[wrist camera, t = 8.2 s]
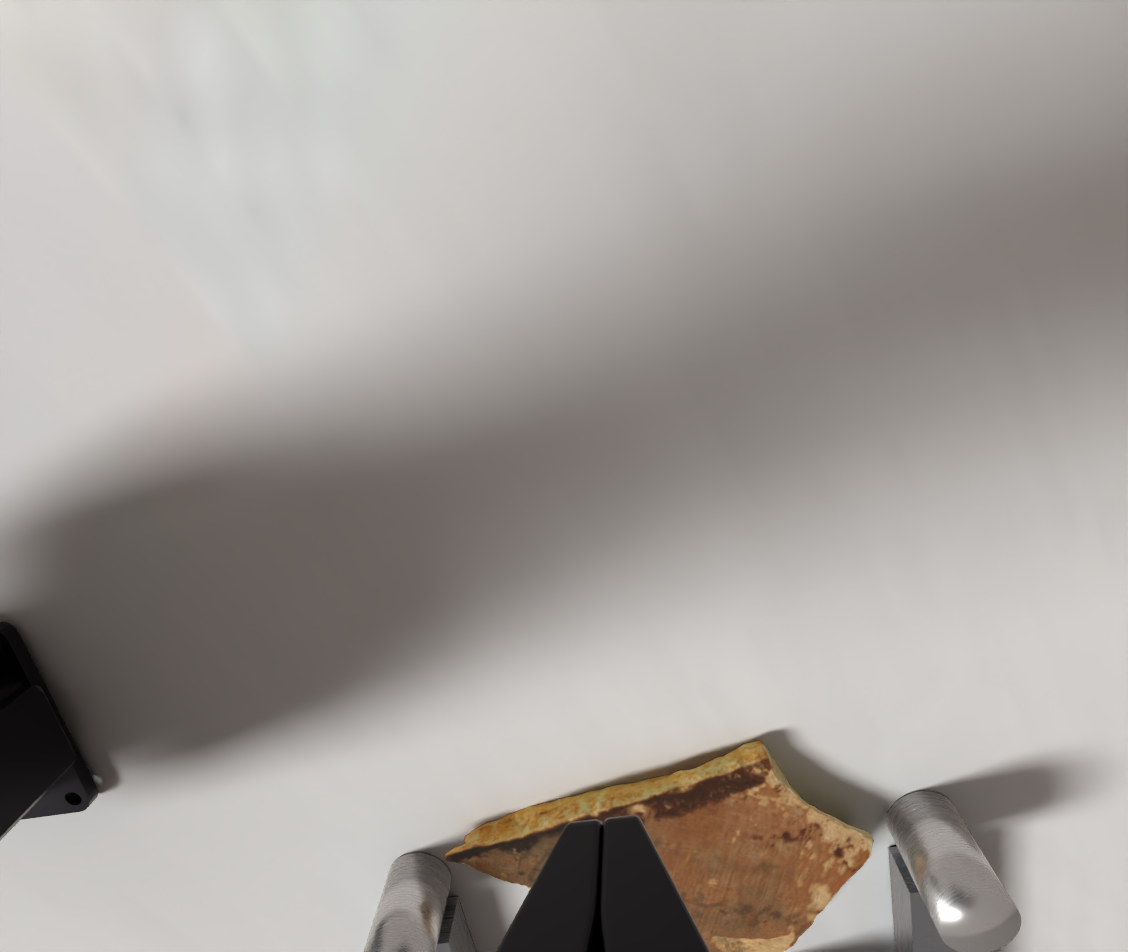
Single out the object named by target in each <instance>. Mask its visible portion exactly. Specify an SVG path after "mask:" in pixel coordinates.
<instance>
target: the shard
mask: <svg viewBox="0 0 1128 952" xmlns="http://www.w3.org/2000/svg"><path fill="white" fill-rule="evenodd" d="M628 815H636V816H638V817H639V818H640V819H641V821H642V822H643V824H644V826H645V828H646V830H647V832H648V834H649V836H650V838H651V840H652V842H653V843H654V845H655V847H656V849H657V851H658V853H659V855H660V857H661V859H662V861H663V863H664V864H665V866H666V868H667V870H668V872H669V874H670V876H671V878H672V880H673V882H674V884H675V885H676V887H677V889H678V891H679V893H680V895H681V897H682V899H683V901H684V903H685V905H686V906H687V908H688V910H689V912H690V914H691V916H692V918H693V920H694V922H695V924H696V926H697V927H698V929H699V931H700V933H701V935H702V937H703V939H704V941H705V943H706V945H707V947H708V948H709V950H710V952H784V951H786V950H787V949H788V948H790V947H792V946H793V945H794V944H795V943H796V941H797V939H798V937H799V936H801V935H802V934H803V933H804V932H805V931H806V930H807V929H808V928H809V927H810V926H811V925H812V924H813V922H814V919H815V917H816V915H817V914H819V913H820V912H821V911H822V910H823V909H824V908H825V906H826V905H827V904H828V903H829V902H830V901H831V900H832V898H833V897H834V896H835V895H836V893H837V892H838V891H839V889H840V888H841V887H842V885H843V884H844V883H845V882H846V881H847V880H848V879H849V878H850V877H852V876H853V875H854V874H855V873H856V872H857V871H858V870H859V869H860V868H861V867H862V866H863V865H864V863H865V862H866V861H867V859H868V858H869V857H870V856H871V848H872V844H873V842H874V840H873V838H872V835H871V834H870V833H869V832H867V831H865V830H863V829H858V828H856V827H853V826H851V825H848V824H845V823H844V822H842V821H840V820H839V819H837V818H835V817H833V816H831V815H829V814H826V813H824V812H822V811H820V810H818V809H817V808H815V807H814V806H812V805H809V804H807V803H806V802H805V801H804V800H803V799H802V798H801V797H800V796H799V795H798V793H797V792H796V791H795V790H794V789H793V788H792V787H791V786H790V785H789V783H788V781H787V779H786V778H785V777H784V775H783V774H782V772H781V770H780V769H779V767H778V765H777V763H776V762H775V760H774V759H773V758H772V757H771V755H770V753H769V751H768V749H767V748H766V747H765V745H764V744H763V743H762V742H761V741H754V742H750V743H745V744H743V745H741V746H740V747H738V748H737V749H735V750H733V751H732V752H730V753H728V754H726V755H725V756H722V757H716V758H715V759H713V760H710V761H708V762H706V763H705V764H703V765H701V766H699V767H697V768H694V769H691V770H680V771H677V772H674V773H673V774H671V775H665V776H661V777H655V778H650V779H647V780H643V781H640V782H634V783H629V784H621V785H614V786H610V787H606V788H604V789H601V790H595V791H590V792H586V793H583V794H581V795H577V796H569V797H566V798H561V799H558V800H555V801H553V802H549V803H542V804H539V805H534V806H529V807H527V808H525V809H522V810H519V811H517V812H514V813H510V814H508V815H506V816H505V817H503V818H501V819H499V820H496V821H493V822H488V823H485V824H484V825H482V826H480V827H478V828H476V829H475V830H473V831H471V833H470V834H468V835H466V836H465V839H464V844H463V845H461V846H458V847H455V848H452V849H451V850H450V851H448V852H447V853H446V854H445V855H444V856H445V859H446V860H448V861H451V862H457V863H461V864H465V865H469V866H471V867H473V868H475V869H477V870H479V871H481V872H484V873H487V874H490V875H492V876H494V877H496V878H498V879H502V880H504V881H508V882H511V883H517V884H520V885H526V886H527V887H529V888H531V887H532V885H533V884H534V882H535V880H536V878H537V876H538V875H539V873H540V871H541V869H542V867H543V865H544V864H545V862H546V860H547V858H548V856H549V855H550V853H551V851H552V849H553V847H554V845H555V844H556V842H557V840H558V838H559V836H560V834H561V833H562V831H563V829H564V827H565V826H566V825H567V824H568V823H570V822H575V821H583V820H592V819H598V820H600V821H602V823H603V824H604V821H605V820H606V819H607V818H610V817H619V816H628Z"/></svg>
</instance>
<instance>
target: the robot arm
mask: <svg viewBox="0 0 1128 952" xmlns="http://www.w3.org/2000/svg"><path fill="white" fill-rule="evenodd" d="M0 642H1V643H0V840H1V839H2V838H3V837H4V836H5V835H6V834H7V833H8V832H9V831H10V830H11V829H12V828H13V827H14V826H15V825H16V824H17V823H18V822H19V820H21V819H29V818H36V817H43V816H51V815H58V814H66V813H73V812H80V811H83V810H85V809H86V808H87V807H88V806H89V805H90V804H91V803H92V802H93V801H94V800H95V798H96V797H97V795H98V789H97V786H96V784H95V782H94V780H93V778H92V776H91V774H90V772H89V771H88V769H87V767H86V765H85V763H84V761H83V759H82V757H81V755H80V753H79V751H78V749H77V747H76V745H75V743H74V741H73V739H72V737H71V735H70V733H69V731H68V729H67V727H66V725H65V723H64V721H63V719H62V717H61V715H60V713H59V711H58V709H57V707H56V705H55V703H54V701H53V699H52V697H51V695H50V693H49V691H48V689H47V688H46V686H45V684H44V682H43V680H42V678H41V676H40V674H39V672H38V670H37V668H36V666H35V664H34V662H33V660H32V658H31V656H30V654H29V652H28V650H27V648H26V646H25V644H24V642H23V640H22V638H21V636H20V634H19V633H18V631H17V630H16V629H15V628H14V627H13V626H11V625H10V624H8V623H5V622H0ZM496 952H710V950H709V948H708V947H707V945H706V943H705V941H704V939H703V937H702V935H701V933H700V931H699V929H698V927H697V926H696V924H695V922H694V920H693V918H692V916H691V914H690V912H689V910H688V908H687V906H686V905H685V903H684V901H683V899H682V897H681V895H680V893H679V891H678V889H677V887H676V885H675V884H674V882H673V880H672V878H671V876H670V874H669V872H668V870H667V868H666V866H665V864H664V863H663V861H662V859H661V857H660V855H659V853H658V851H657V849H656V847H655V845H654V843H653V842H652V840H651V838H650V836H649V834H648V832H647V830H646V828H645V826H644V824H643V822H642V821H641V819H640V818H639V817H638V816H636V815H628V816H619V817H610V818H607V819H606V820H605V821H604V824H603V823H602V821H600V820H598V819H592V820H583V821H575V822H570V823H568V824H567V825H566V826H565V827H564V829H563V831H562V833H561V834H560V836H559V838H558V840H557V842H556V844H555V845H554V847H553V849H552V851H551V853H550V855H549V856H548V858H547V860H546V862H545V864H544V865H543V867H542V869H541V871H540V873H539V875H538V876H537V878H536V880H535V882H534V884H533V885H532V887H531V889H530V891H529V893H528V895H527V896H526V898H525V900H524V902H523V904H522V905H521V907H520V909H519V911H518V913H517V915H516V916H515V918H514V920H513V922H512V924H511V925H510V927H509V929H508V931H507V933H506V935H505V936H504V938H503V940H502V942H501V944H500V945H499V947H498V949H497V951H496Z"/></svg>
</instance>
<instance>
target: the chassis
mask: <svg viewBox="0 0 1128 952" xmlns="http://www.w3.org/2000/svg"><path fill="white" fill-rule="evenodd" d="M887 826H888V829H889V831H890V833H891V835H892V837H893V839H894V841H895V843H896V845H897V846H896V847H888V848H889V863H890V877H891V892H892V906H893V920H894V935H895V949H896V952H992V951H995V950H997V949H999V948H1001V947H1003V946H1005V945H1006V944H1008V943H1009V942H1010V941H1011V940H1013V938H1014V937H1015V936H1016V935H1017V933H1018V931H1019V929H1020V926H1021V917H1020V913H1019V911H1018V910H1017V908H1016V906H1015V905H1014V903H1013V901H1012V900H1011V898H1010V897H1009V895H1008V893H1007V892H1006V890H1005V888H1004V887H1003V885H1002V883H1001V882H1000V880H999V879H998V877H997V875H996V874H995V872H994V870H993V869H992V867H991V866H990V864H989V862H988V861H987V859H986V857H985V856H984V854H983V852H982V851H981V849H980V848H979V846H978V844H977V843H976V841H975V839H974V838H973V836H972V835H971V833H970V831H969V830H968V828H967V826H966V825H965V823H964V822H963V820H962V818H961V817H960V815H959V813H958V812H957V810H956V808H955V807H954V805H953V804H952V802H951V801H950V800H949V799H948V798H947V797H945V796H943V795H942V794H939V793H936V792H931V791H919V792H914V793H910V794H908V795H906V796H904V797H902V798H900V799H899V800H898V801H896V802H895V803H894V804H893V805H892V807H891V808H890V810H889V812H888V815H887ZM450 885H451V874H450V871H449V869H448V868H447V866H446V865H445V864H444V863H443V862H442V861H441V860H439V859H438V858H436V857H434V856H432V855H429V854H425V853H409V854H405V855H403V856H401V857H399V858H398V859H396V860H395V861H394V862H393V864H392V866H391V868H390V871H389V874H388V877H387V880H386V883H385V886H384V890H383V893H382V896H381V899H380V902H379V905H378V908H377V911H376V915H375V918H374V921H373V924H372V927H371V930H370V933H369V936H368V940H367V943H366V946H365V949H364V952H476V950H475V947H474V944H473V941H472V938H471V935H470V932H469V929H468V926H467V923H466V920H465V917H464V914H463V911H462V907H461V904H460V901H459V898H458V896H457V897H449V898H448V894H449V889H450Z"/></svg>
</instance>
